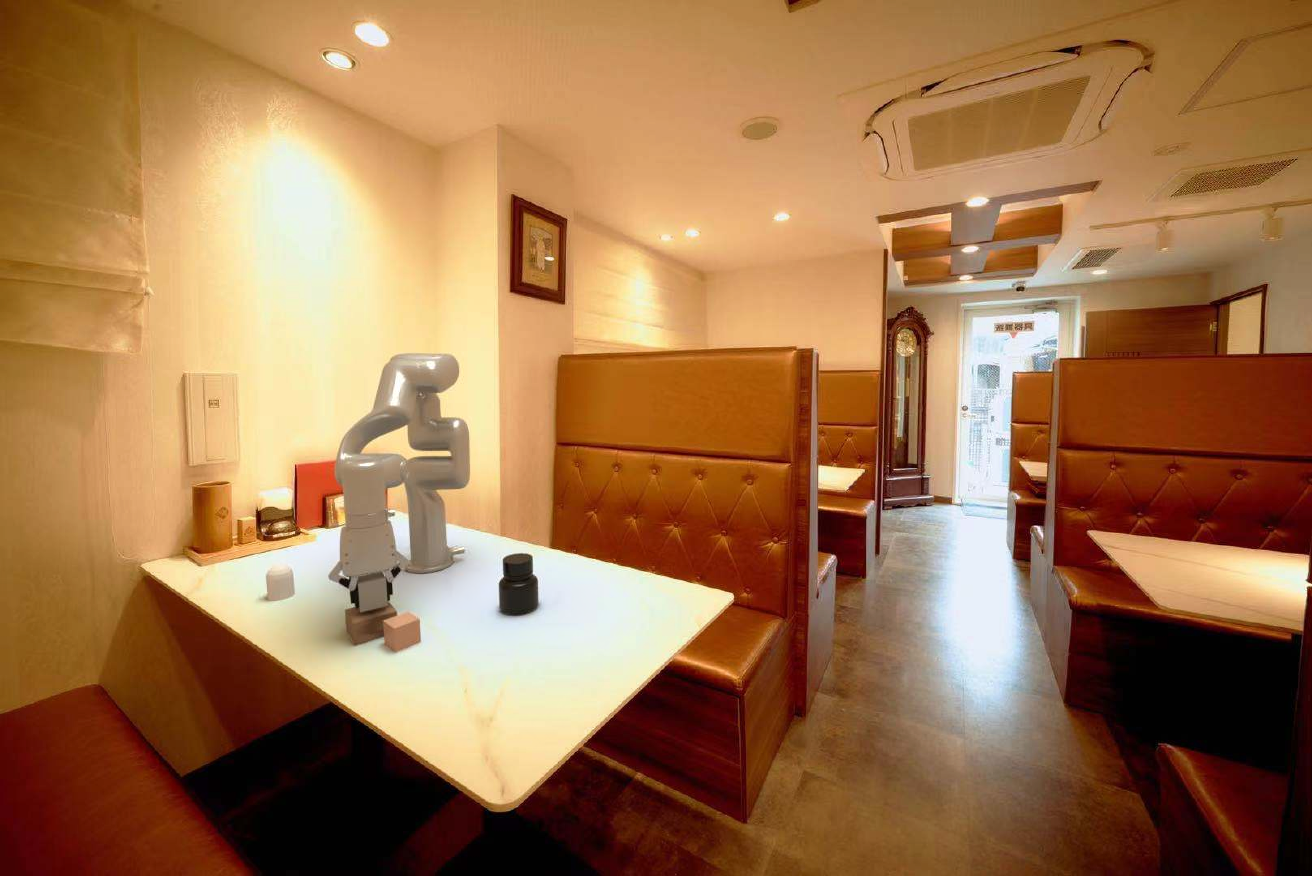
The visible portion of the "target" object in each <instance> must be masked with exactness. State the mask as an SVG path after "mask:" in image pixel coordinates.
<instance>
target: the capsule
mask: <svg viewBox="0 0 1312 876" xmlns="http://www.w3.org/2000/svg"><path fill="white" fill-rule="evenodd" d="M294 581H295V579H294V572H293V570H292V568H291V566H289V565H288V564H287V565H286V564H283V563H279V564H275V565H273V566H271V567H270V568H269V569H268V571H267V572H266V575H265V583H266V585H265V586H266V593H267V594H266V595H267V600H268V601H271V602H278V601H282V600H287V599H289V598H292V597H294V595H295V594H296V590H295V582H294Z"/></svg>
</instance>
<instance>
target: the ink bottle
mask: <svg viewBox="0 0 1312 876" xmlns="http://www.w3.org/2000/svg"><path fill="white" fill-rule="evenodd" d="M533 561H534V560H533V555H531V554H530V553H525V552H524V553H523V552H520V553H517V552H516V553H511V554H508V555H507V556H505V557H503V558H502V575H503V577H502V578H501V579H500V580H499V582H498V606H499V607H498V608H499V610H500V611H501V612H502V613H504V614H507V615H510V616H512V615H513V616H520V615H524V614H527V613H530V612H532V611H534V610H535V609H537V607H538V606H539V602H540V601H539V600H540V599H539V580H538V576H536V575H535V574H534V573H533V572H534V563H533Z"/></svg>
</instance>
